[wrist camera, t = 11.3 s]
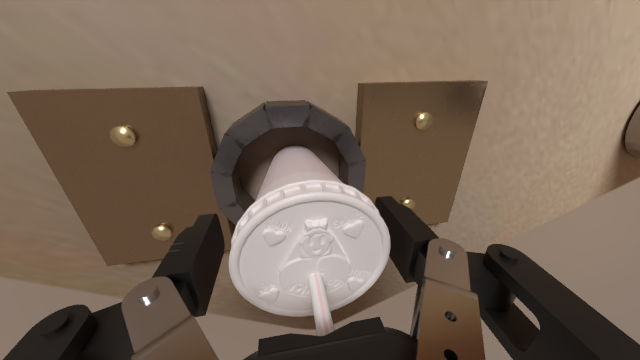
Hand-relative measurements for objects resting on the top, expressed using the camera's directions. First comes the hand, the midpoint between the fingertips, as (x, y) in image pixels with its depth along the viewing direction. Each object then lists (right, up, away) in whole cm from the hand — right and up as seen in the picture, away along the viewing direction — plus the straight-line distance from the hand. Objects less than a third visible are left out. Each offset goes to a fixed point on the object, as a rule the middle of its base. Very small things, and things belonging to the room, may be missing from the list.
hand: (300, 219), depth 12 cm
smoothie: (-1, +3, +6) cm, 7 cm away
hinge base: (-1, +3, +6) cm, 6 cm away
